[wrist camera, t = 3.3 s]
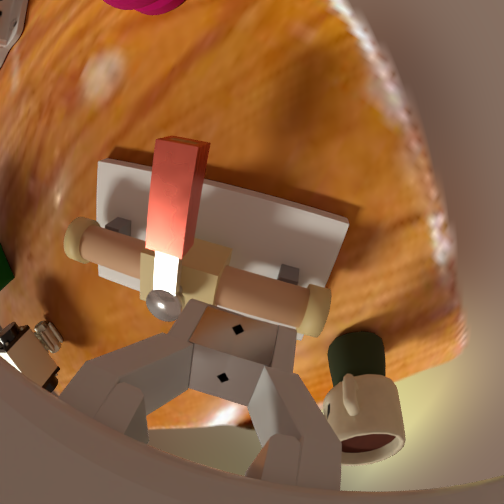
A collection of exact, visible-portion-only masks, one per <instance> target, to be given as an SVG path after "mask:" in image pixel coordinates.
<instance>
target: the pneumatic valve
mask: <svg viewBox="0 0 504 504" xmlns="http://www.w3.org/2000/svg"><path fill="white" fill-rule="evenodd" d="M35 331H36V332H37V333H36V332H34V333H33V332H32V330H31V329H30V327H29V326H28V325H25V326H20V327H18V325H17V324H16V322H12V323H11V324H9V325H8V326H6V327H5V328H4V329H3V330H2V331H1V332H0V356H1V357H2V358H4V359H5V360H6V361H7V362H9V363H10V364H11V365H12V366H14V367H15V368H16V369H18V370H19V371H20V372H21V373H23V374H24V375H25V376H27V377H28V378H30V379H31V380H32V381H34V382H35V383H37V384H38V385H39V386H41V387H42V388H44V389H45V390H47V391H48V392H50V393H51V392H52V391H53V390H54V389H55V388H56V386H57V384H58V379H57V378H56V377H55V376H57V375H58V374H57V372H58V371H59V370H60V368H59V367H58V366H57V364H56V363H55V362H54V361H53V359H52V358H51V357H50V355H49V354H48V353H49V351H48V350H50V352H51V353H56V352H57V351H58V350H59V349H60V348H61V344H60V342H61V343H62V342H63V340H62V339H63V338H62V337H61V335H60V334H59V332H58V331H57V329H56V328H55V326H54V325H53V323H51V322H49V323H48V324H46V322H45V321H41V322H39V323H38V324H37V325H36V326H35ZM59 341H60V342H59Z"/></svg>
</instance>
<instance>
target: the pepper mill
mask: <svg viewBox="0 0 504 504" xmlns="http://www.w3.org/2000/svg"><path fill="white" fill-rule="evenodd" d="M103 1H104V2H106V3H107V4H109V5H111V6H113V7H115V8H118V9H123V10H133V9H134V10H137V11H139V12H141V13H143V14H147V15H159V14H163V13H166V12H168V11H171V10H173V9H174V8H176V7H178V6H179V5H180V4H182V3H183V2H184V1H185V0H103Z"/></svg>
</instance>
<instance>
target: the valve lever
mask: <svg viewBox="0 0 504 504" xmlns="http://www.w3.org/2000/svg"><path fill="white" fill-rule="evenodd" d="M209 148H210V143H208V142H203V141H198V140H193V139H188V138H182V137H177V136H168V137H164V138H159V139H156V143H155V150H154V158H153V166H152V174H151V183H150V193H149V204H148V217H147V231H146V248H147V249H150V250H154V251H155V265H154V286H153V289H152V290H151V292H150V293H149V294H148V295H147V298H146V304H147V307H148V309H149V311H150V312H151V313H152V314H153V315H154V316H155V317H157V318H158V319H160V320H163V321H168V322H171V321H174V320H176V319H177V318H178V317H179V315H180V313H181V312H182V310H183V309H184V307H185V298H184V296H183V294H182V293H181V291H180V290H179V289H180V279H181V270H182V261H183V257H184V256H185V254H186V253H187V252H188V251H189V250H190V248H191V247H192V246H193V244H194V237H195V231H196V224H197V218H198V211H199V205H200V199H201V193H202V187H203V181H204V176H205V170H206V164H207V159H208V154H209Z"/></svg>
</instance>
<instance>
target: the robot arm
mask: <svg viewBox="0 0 504 504" xmlns="http://www.w3.org/2000/svg"><path fill="white" fill-rule="evenodd" d="M27 4H28V0H0V67H1V66H2V64H3V62H4V59H5V57H6V55H7V53H8V52H9V50H10V48H11V47H12V46H13V45H14V44H15V42H16V41H17V40H18V39H19V37H20V35H21V34H22V31H23V26H24V20H25V14H26V9H27ZM296 338H297V330H296V329H293V328H289V327H285V326H281V325H275V324H272V323H268V322H265V321H261V320H258V319H254V318H251V317H247V316H244V315H241V314H238V313H235V312H232V311H229V310H226V309H223V308H220V307H217V306H214V305H211V304H208V303H205V302H202V301H199V300H196V299H193V298H192V299H190V300H189V301H188V302H187V304H186V306H185V307H184V309H183V310H182V312H181V313H180V315H179V317H178V318H177V320H176V321H175V323H174V325H173V326H172V328H171V329H170V331H169V333H168V334H165V333H160V334H157V335H155V336H152V337H150V338H147V339H145V340H142V341H139V342H137V343H134V344H132V345H129V346H126V347H124V348H121V349H118V350H116V351H113V352H110V353H108V354H105V355H102V356H99V357H97V358H94V359H91V360H88V361H86V362H85V363H84V365H83V366H82V367H81V368H80V370H79V371H78V372H77V374H76V375H75V376H74V377H73V379H72V380H71V381H70V383H69V384H68V385H67V386H66V388H65V389H64V390H63V392H62V393H61V394H60V396H59V397H58V398H57V397H56V396H54V395H53V394H51V393H50V392H48V391H47V390H45V389H44V388H42V387H41V386H39V385H38V384H37V383H35V382H34V381H32V380H31V379H30V378H28V377H27V376H25V375H24V374H23V373H21V372H20V371H19V370H18V369H16V368H15V367H14V366H12V365H11V364H10V363H9V362H7V361H6V360H5V359H4V358H2V357H1V356H0V504H504V475H501V476H498V477H494V478H490V479H485V480H481V481H476V482H472V483H466V484H460V485H454V486H448V487H441V488H432V489H423V490H411V491H391V492H390V491H389V492H361V491H340V482H341V455H342V443H341V441H340V440H339V438H338V437H337V435H336V434H335V432H334V431H333V429H332V427H331V426H330V424H329V423H328V421H327V420H326V418H325V416H324V415H323V413H322V412H321V410H320V409H319V407H318V405H317V404H316V402H315V401H314V399H313V397H312V396H311V394H310V393H309V391H308V389H307V388H306V386H305V385H304V383H303V381H302V380H301V378H300V377H299V375H298V374H295V373H293V366H294V357H295V348H296ZM188 388H190V389H194V390H197V391H200V392H203V393H206V394H210V395H213V396H217V397H220V398H223V399H226V400H229V401H232V402H235V403H238V404H241V405H245V406H248V407H247V408H248V411H249V414H250V416H251V419H252V422H253V425H254V427H255V430H256V433H257V435H258V438H259V441H260V443H261V446H262V450H261V451H260V453H259V454H258V455H257V457H256V458H255V460H254V461H253V463H252V464H251V465H250V466H249V468H248V470H247V471H246V473H245V476H241V475H237V474H233V473H229V472H225V471H222V470H218V469H215V468H211V467H208V466H205V465H201V464H198V463H195V462H192V461H189V460H186V459H183V458H180V457H177V456H175V455H172V454H169V453H167V452H164V451H162V450H159V449H156V448H154V447H152V446H149V445H147V444H148V442H149V436H148V428H147V420H146V415H148V414H150V413H151V412H153V411H155V410H156V409H158V408H159V407H161V406H163V405H164V404H166V403H167V402H169V401H171V400H172V399H174V398H175V397H177V396H178V395H180V394H181V393H183V392H185V391H186V390H188Z"/></svg>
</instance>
